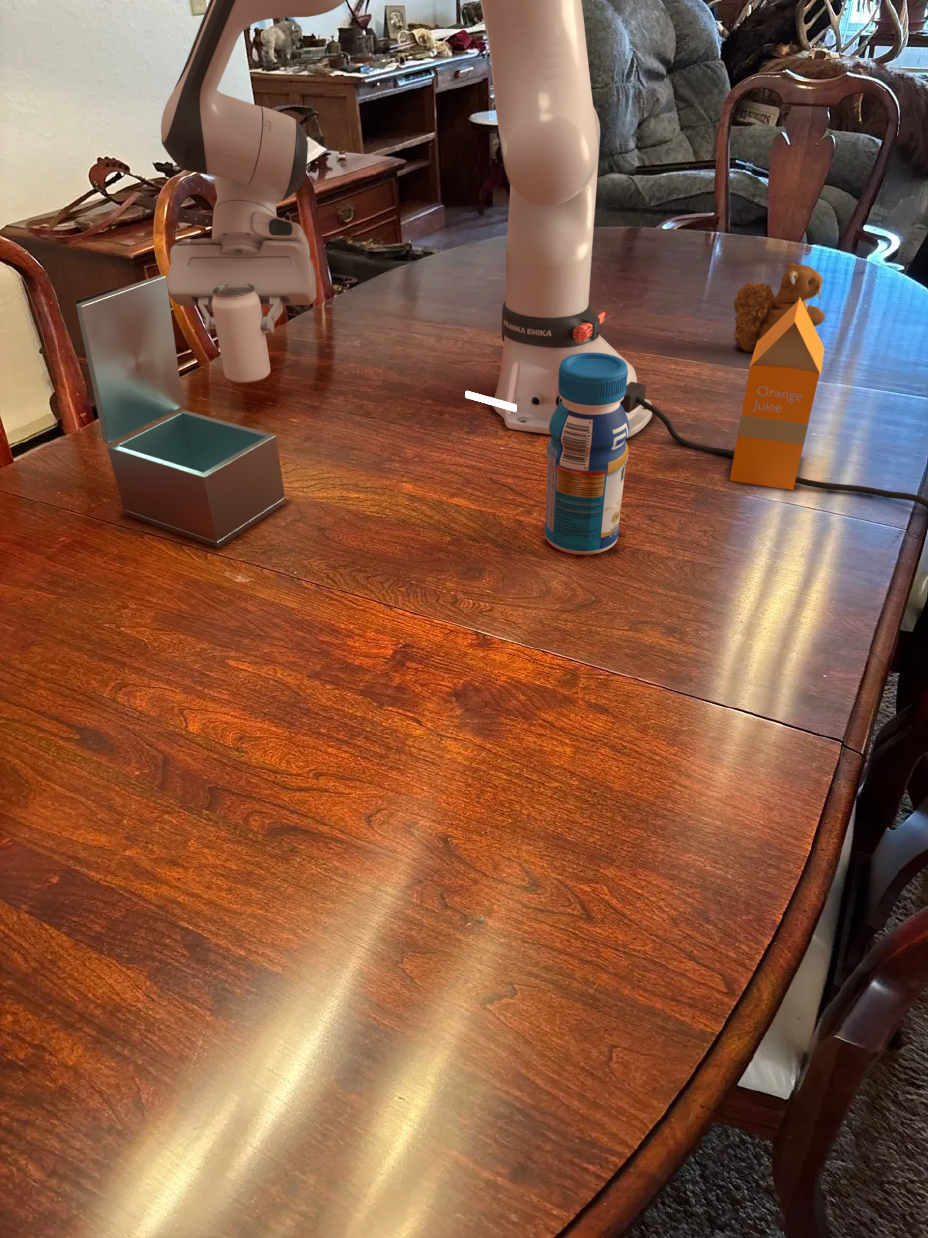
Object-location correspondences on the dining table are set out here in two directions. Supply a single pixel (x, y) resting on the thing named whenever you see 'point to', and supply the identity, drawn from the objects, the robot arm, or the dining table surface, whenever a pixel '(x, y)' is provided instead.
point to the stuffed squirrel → (774, 304)
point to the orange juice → (778, 402)
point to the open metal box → (198, 476)
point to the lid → (131, 355)
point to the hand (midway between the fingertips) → (239, 332)
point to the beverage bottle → (587, 454)
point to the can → (240, 333)
